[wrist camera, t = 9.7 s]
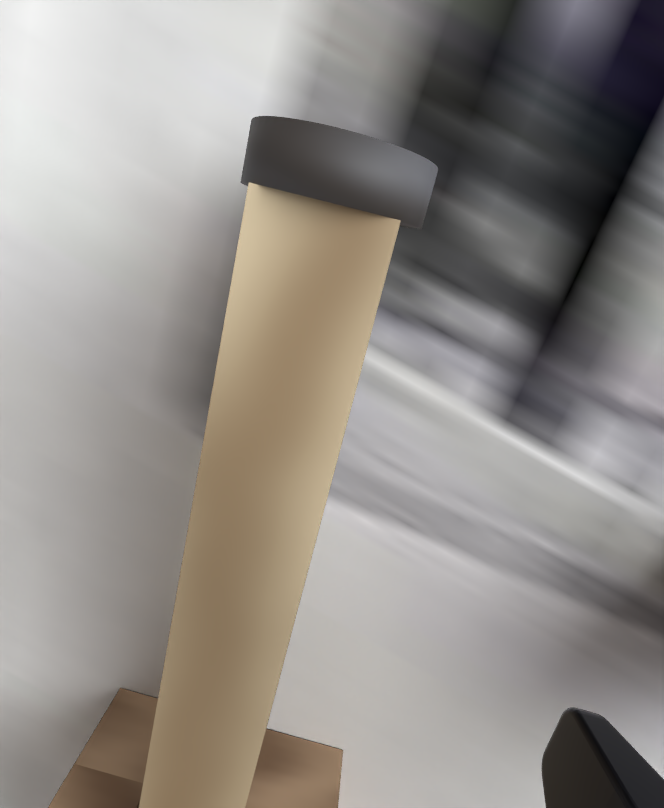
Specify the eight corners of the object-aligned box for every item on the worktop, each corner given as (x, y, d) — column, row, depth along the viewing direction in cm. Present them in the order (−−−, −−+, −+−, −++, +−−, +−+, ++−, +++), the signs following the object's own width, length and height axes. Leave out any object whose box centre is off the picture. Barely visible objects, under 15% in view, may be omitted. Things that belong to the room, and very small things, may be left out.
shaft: (430, 181, 13) (448, 155, 9) (253, 823, 20) (222, 958, 16) (273, 142, 13) (226, 101, 9) (152, 794, 20) (98, 922, 16)
